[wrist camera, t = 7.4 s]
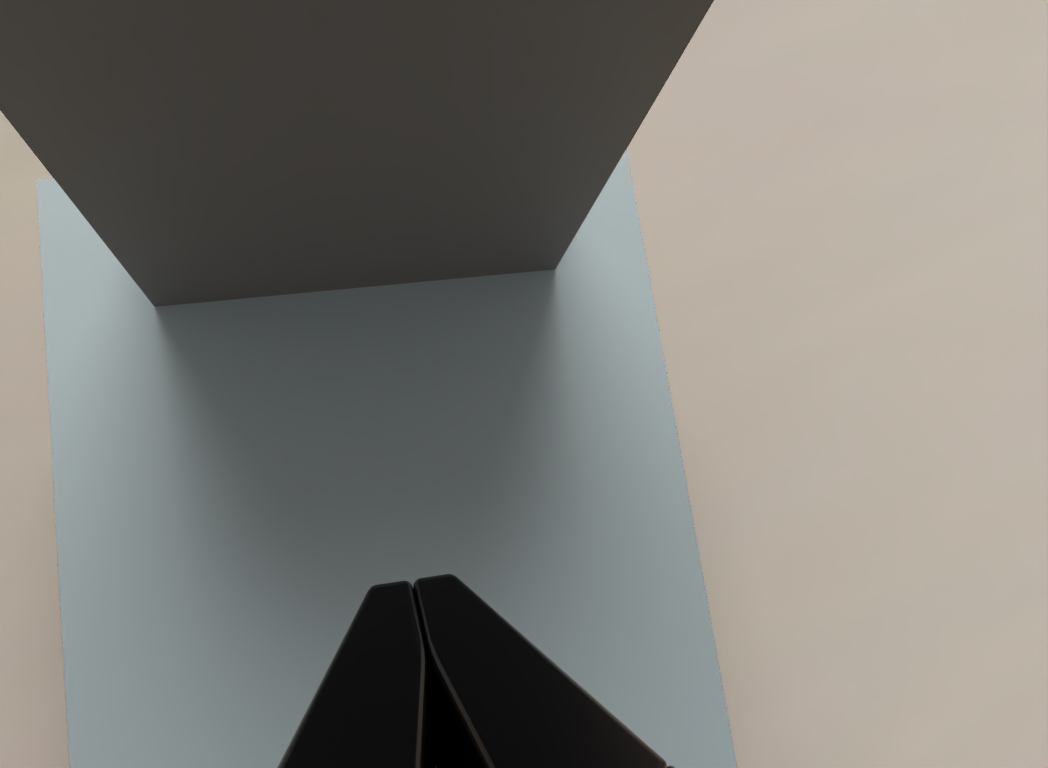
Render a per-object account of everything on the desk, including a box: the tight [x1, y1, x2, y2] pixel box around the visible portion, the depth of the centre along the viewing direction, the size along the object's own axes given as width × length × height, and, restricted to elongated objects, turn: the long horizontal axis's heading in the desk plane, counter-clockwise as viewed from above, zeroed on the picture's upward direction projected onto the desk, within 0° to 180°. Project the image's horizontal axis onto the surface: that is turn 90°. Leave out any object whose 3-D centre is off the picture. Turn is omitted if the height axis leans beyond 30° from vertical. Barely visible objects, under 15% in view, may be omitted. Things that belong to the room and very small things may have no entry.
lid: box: [0, 0, 737, 768], centre depth 10 cm, size 11×9×8 cm
